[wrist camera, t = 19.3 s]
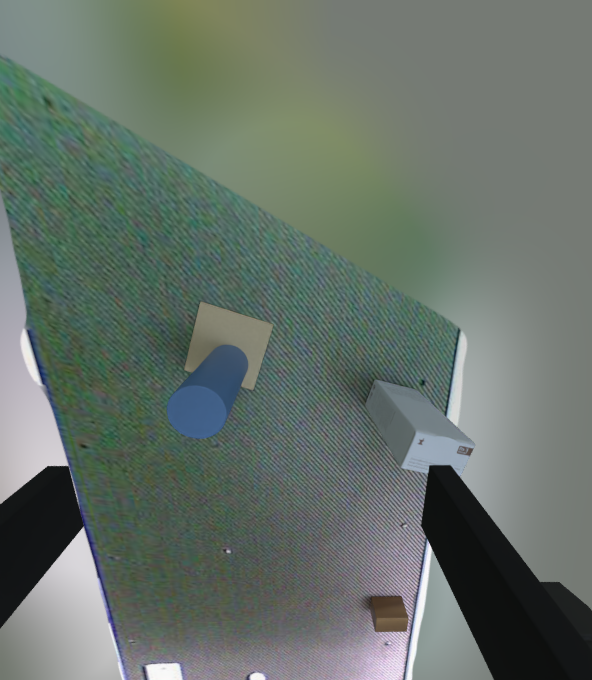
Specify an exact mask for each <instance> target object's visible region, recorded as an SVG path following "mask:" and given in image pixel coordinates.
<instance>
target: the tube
mask: <svg viewBox="0 0 592 680" xmlns="http://www.w3.org/2000/svg"><path fill="white" fill-rule="evenodd" d="M247 370H248V359H247V357H246V355H245V353H244V352H243V351H242V350H241V349H239V348H238V347H236V346H233V345H221V346H219V347H217V348H215V349H214V350H213V351H212V352H211V353H210V354H209V355H208V356H207V357H206V359H205V360H204V361H203V362H202V363H201V364H200V365H199V366H198V367H197V368H196V369H195V370H194V372H193V373H192V374H191V375H190V376H189V377H188V378H187V379H186V380H185V381H184V382H183V384H182V385H181V386H180V387H179V388H178V389H177V390H176V391H175V392H174V393H173V394H172V396H171V397H170V399H169V401H168V404H167V415H168V418H169V421H170V423H171V424H172V426H173V427H174V428H175V429H176V430H177V431H178V432H180V433H181V434H183V435H185V436H187V437H191V438H196V439H202V438H208V437H211V436H213V435H215V434H216V433H218V432H219V431H220V430H221V429H222V428H223V426H224V424H225V422H226V420H227V417H228V415H229V413H230V410H231V408H232V406H233V403H234V401H235V399H236V396H237V394H238V392H239V389H240V387H241V384H242V382H243V380H244V377H245V375H246V373H247Z"/></svg>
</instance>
